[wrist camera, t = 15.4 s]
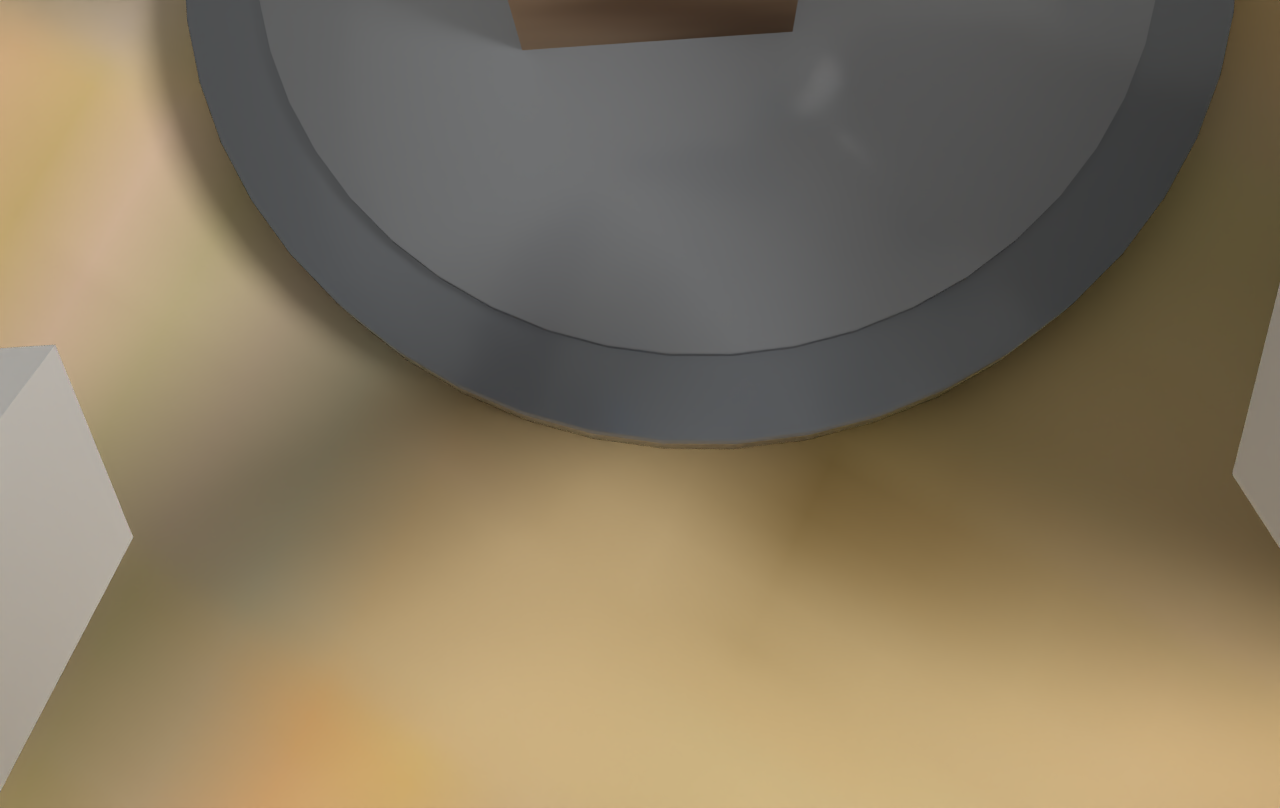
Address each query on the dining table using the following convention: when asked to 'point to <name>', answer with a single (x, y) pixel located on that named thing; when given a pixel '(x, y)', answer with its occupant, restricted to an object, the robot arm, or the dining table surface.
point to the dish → (709, 193)
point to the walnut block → (644, 20)
